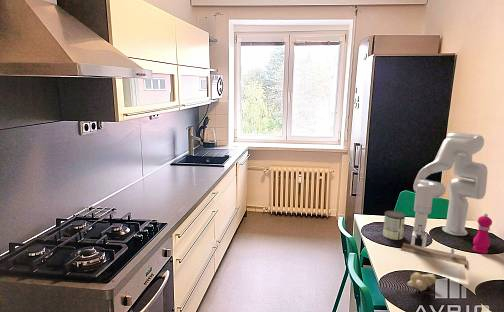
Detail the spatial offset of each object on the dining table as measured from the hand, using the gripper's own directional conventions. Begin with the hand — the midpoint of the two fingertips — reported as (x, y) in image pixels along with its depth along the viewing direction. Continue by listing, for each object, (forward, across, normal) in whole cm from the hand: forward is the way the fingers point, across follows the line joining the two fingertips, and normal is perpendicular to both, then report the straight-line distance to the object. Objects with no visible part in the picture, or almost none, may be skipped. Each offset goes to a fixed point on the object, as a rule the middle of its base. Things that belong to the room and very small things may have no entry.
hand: (418, 242), depth 172 cm
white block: (+1, 0, 0) cm, 1 cm away
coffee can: (+6, -11, -13) cm, 18 cm away
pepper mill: (+6, -19, +28) cm, 34 cm away
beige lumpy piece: (+5, +36, +3) cm, 36 cm away
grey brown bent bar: (+5, +1, +7) cm, 9 cm away
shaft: (+4, +1, +15) cm, 15 cm away
